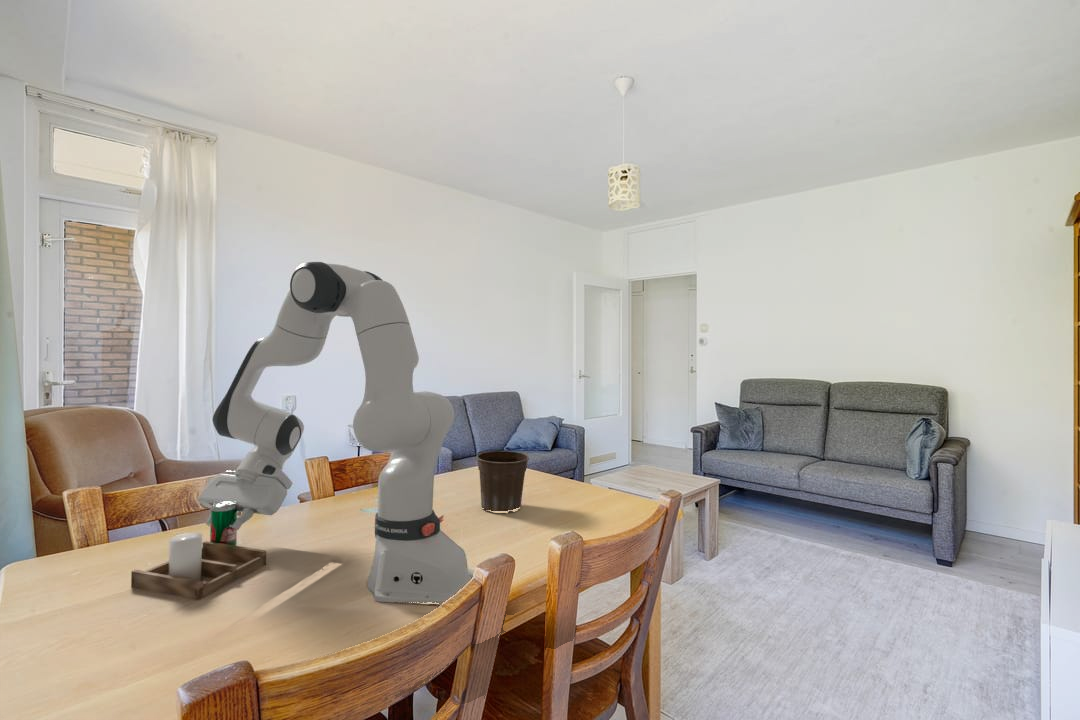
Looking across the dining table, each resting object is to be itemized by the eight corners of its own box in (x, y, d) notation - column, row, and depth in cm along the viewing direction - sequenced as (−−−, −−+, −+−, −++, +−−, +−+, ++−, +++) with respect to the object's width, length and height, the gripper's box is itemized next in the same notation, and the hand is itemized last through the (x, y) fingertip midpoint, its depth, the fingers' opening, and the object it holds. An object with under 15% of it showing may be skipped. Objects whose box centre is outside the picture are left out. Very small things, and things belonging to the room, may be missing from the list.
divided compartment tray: (265, 569, 106) (266, 550, 106) (198, 606, 90) (198, 583, 90) (205, 560, 110) (205, 541, 110) (131, 593, 94) (131, 571, 94)
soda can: (223, 562, 109) (224, 508, 108) (204, 559, 110) (205, 505, 109) (241, 553, 114) (242, 501, 113) (222, 550, 115) (224, 499, 114)
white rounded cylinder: (207, 579, 98) (208, 534, 98) (183, 591, 93) (184, 544, 93) (186, 575, 99) (187, 531, 99) (161, 587, 94) (162, 540, 94)
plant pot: (526, 517, 144) (528, 462, 144) (471, 515, 144) (472, 460, 144) (528, 501, 160) (530, 451, 160) (478, 499, 161) (480, 449, 160)
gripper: (214, 462, 121) (175, 515, 111) (285, 470, 116) (250, 525, 106) (229, 476, 125) (193, 528, 116) (298, 484, 120) (266, 538, 111)
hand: (221, 527), depth 111 cm, fingers closed on soda can, 5 cm apart
